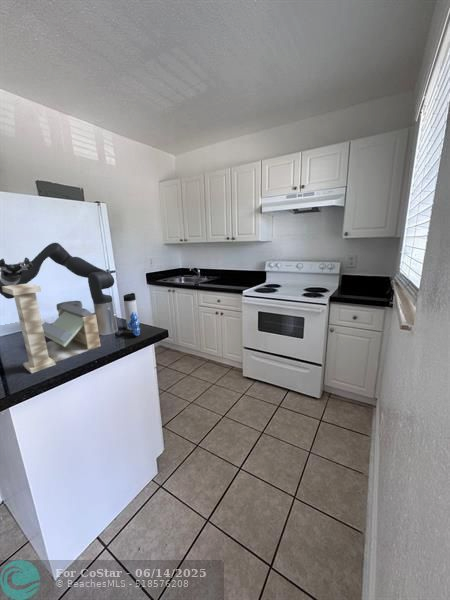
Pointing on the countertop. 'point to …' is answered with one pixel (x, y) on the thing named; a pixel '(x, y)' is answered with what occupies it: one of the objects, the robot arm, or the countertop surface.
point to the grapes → (134, 324)
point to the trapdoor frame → (76, 340)
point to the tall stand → (31, 326)
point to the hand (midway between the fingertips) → (15, 259)
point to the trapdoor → (69, 321)
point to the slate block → (56, 331)
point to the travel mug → (130, 306)
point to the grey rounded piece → (75, 303)
